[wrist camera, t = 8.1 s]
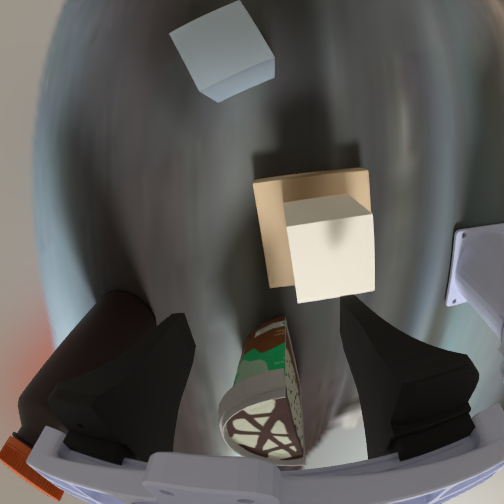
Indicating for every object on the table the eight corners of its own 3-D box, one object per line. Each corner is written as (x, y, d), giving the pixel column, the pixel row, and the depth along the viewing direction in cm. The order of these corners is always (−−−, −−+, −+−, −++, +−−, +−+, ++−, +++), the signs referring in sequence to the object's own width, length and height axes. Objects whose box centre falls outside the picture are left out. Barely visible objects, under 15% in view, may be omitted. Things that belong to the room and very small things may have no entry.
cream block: (346, 193, 19) (372, 214, 13) (352, 253, 20) (374, 290, 15) (282, 202, 19) (286, 226, 14) (292, 262, 21) (297, 303, 16)
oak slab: (358, 166, 20) (368, 170, 18) (362, 261, 23) (371, 274, 21) (255, 178, 21) (252, 183, 19) (270, 273, 24) (269, 288, 22)
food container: (214, 313, 25) (188, 398, 16) (281, 302, 24) (283, 391, 15) (248, 396, 30) (240, 471, 21) (301, 390, 29) (306, 466, 20)
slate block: (247, 30, 16) (239, 0, 11) (274, 77, 18) (274, 57, 12) (193, 55, 17) (168, 33, 12) (218, 102, 19) (199, 91, 14)
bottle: (109, 338, 28) (23, 480, 10) (93, 286, 26) (-30, 431, 7) (163, 346, 28) (89, 518, 9) (150, 291, 25) (33, 481, 7)
